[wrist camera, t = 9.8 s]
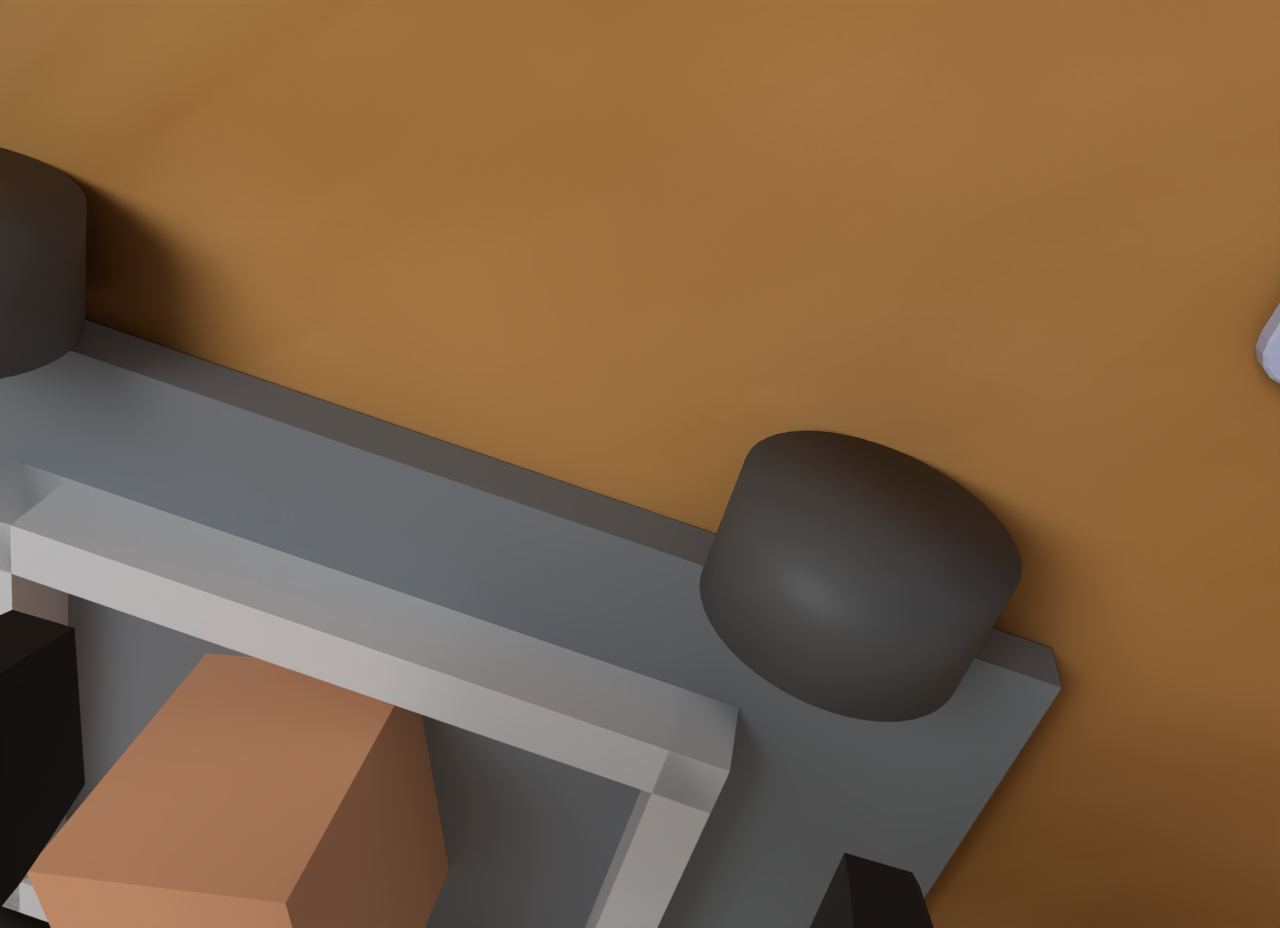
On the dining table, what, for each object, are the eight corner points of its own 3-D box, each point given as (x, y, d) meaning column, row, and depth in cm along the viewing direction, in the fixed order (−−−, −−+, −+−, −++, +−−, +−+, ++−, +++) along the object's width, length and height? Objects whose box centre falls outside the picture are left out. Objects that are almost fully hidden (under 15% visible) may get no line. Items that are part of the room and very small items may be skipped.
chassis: (1127, 528, 17) (1198, 700, 13) (721, 1171, 27) (701, 1365, 23) (-221, 72, 17) (-499, 124, 13) (-119, 879, 27) (-262, 1028, 23)
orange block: (413, 670, 19) (285, 902, 15) (449, 868, 22) (346, 1120, 17) (206, 653, 20) (25, 871, 16) (262, 847, 22) (119, 1084, 18)
